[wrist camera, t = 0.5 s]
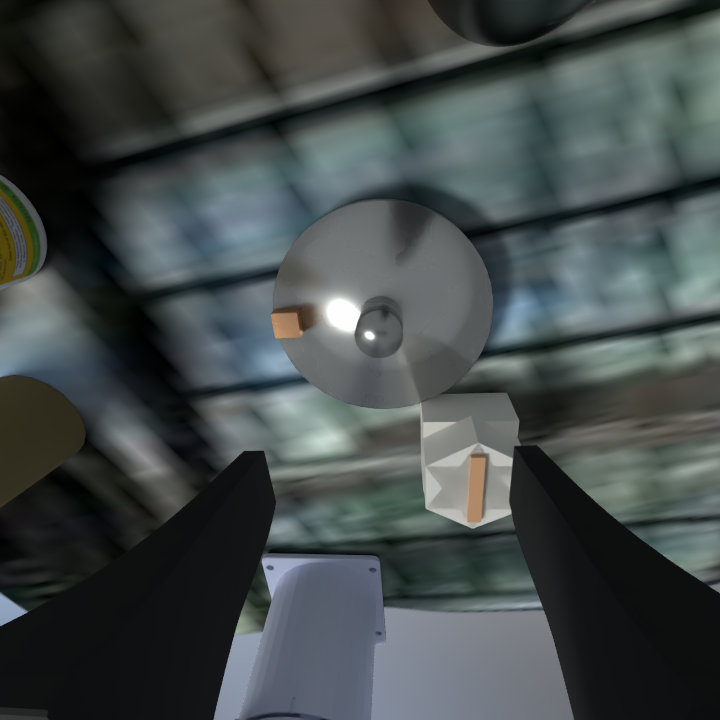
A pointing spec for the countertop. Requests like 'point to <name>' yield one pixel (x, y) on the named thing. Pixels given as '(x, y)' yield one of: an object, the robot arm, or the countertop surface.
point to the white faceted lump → (468, 455)
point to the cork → (34, 433)
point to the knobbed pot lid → (382, 303)
